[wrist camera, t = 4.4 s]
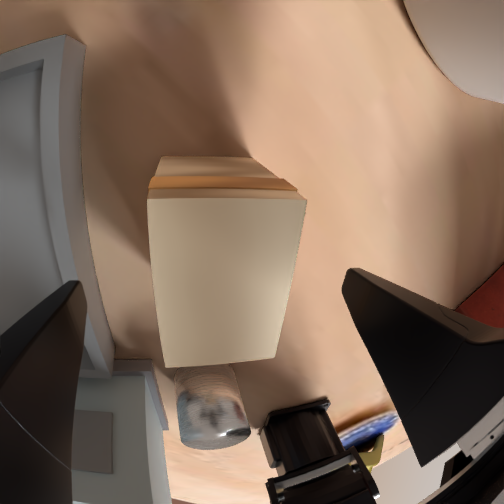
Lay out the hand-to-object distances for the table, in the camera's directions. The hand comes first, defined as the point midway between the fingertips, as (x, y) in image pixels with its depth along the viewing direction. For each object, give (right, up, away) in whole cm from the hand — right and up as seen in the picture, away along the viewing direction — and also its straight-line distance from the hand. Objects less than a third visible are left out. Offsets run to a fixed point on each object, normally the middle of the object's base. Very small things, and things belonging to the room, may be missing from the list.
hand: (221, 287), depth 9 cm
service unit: (-13, -10, +8) cm, 18 cm away
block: (-1, +3, +4) cm, 5 cm away
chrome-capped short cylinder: (-2, -8, +10) cm, 13 cm away
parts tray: (-14, +2, +1) cm, 14 cm away
